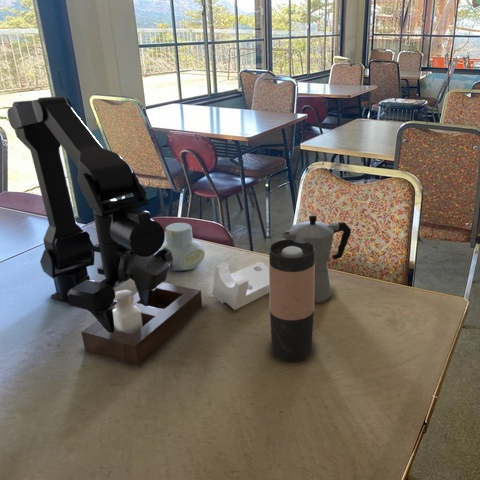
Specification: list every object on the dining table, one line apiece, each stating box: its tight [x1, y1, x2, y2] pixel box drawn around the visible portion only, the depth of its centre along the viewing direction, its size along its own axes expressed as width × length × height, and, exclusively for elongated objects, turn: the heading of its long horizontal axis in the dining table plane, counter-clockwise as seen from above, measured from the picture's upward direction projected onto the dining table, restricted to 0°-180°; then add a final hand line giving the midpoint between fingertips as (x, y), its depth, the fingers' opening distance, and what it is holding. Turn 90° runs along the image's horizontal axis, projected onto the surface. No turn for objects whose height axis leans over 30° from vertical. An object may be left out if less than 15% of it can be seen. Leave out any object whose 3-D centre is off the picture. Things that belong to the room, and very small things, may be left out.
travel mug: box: [268, 239, 315, 363], centre depth 82 cm, size 8×8×20 cm
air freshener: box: [160, 222, 206, 272], centre depth 113 cm, size 11×8×10 cm
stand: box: [81, 282, 203, 366], centre depth 90 cm, size 11×20×4 cm, turn 161°
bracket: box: [211, 260, 269, 311], centre depth 102 cm, size 13×7×8 cm, turn 139°
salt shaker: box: [112, 289, 143, 335], centre depth 85 cm, size 4×4×10 cm
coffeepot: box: [281, 214, 352, 304], centre depth 101 cm, size 15×9×18 cm, turn 113°
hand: (129, 318), depth 85 cm, fingers open, 9 cm apart
